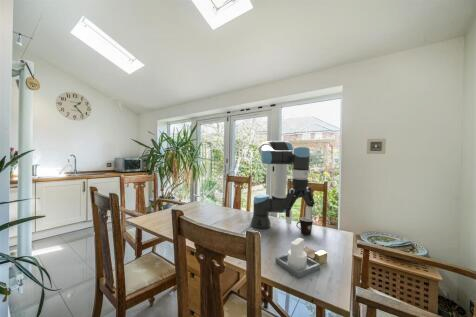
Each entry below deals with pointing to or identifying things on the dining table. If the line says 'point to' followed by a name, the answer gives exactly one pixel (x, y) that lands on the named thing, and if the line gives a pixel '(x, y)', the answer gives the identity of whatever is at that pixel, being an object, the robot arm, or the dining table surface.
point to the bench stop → (320, 257)
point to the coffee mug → (305, 226)
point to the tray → (310, 268)
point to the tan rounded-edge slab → (310, 253)
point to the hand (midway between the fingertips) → (298, 221)
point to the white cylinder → (297, 255)
